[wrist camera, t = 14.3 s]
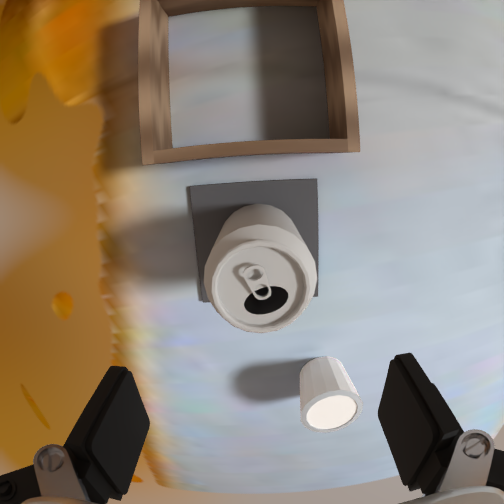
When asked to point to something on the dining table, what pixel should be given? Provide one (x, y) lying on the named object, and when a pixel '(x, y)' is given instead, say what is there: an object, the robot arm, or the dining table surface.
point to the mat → (248, 193)
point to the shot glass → (327, 396)
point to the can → (260, 270)
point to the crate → (160, 141)
